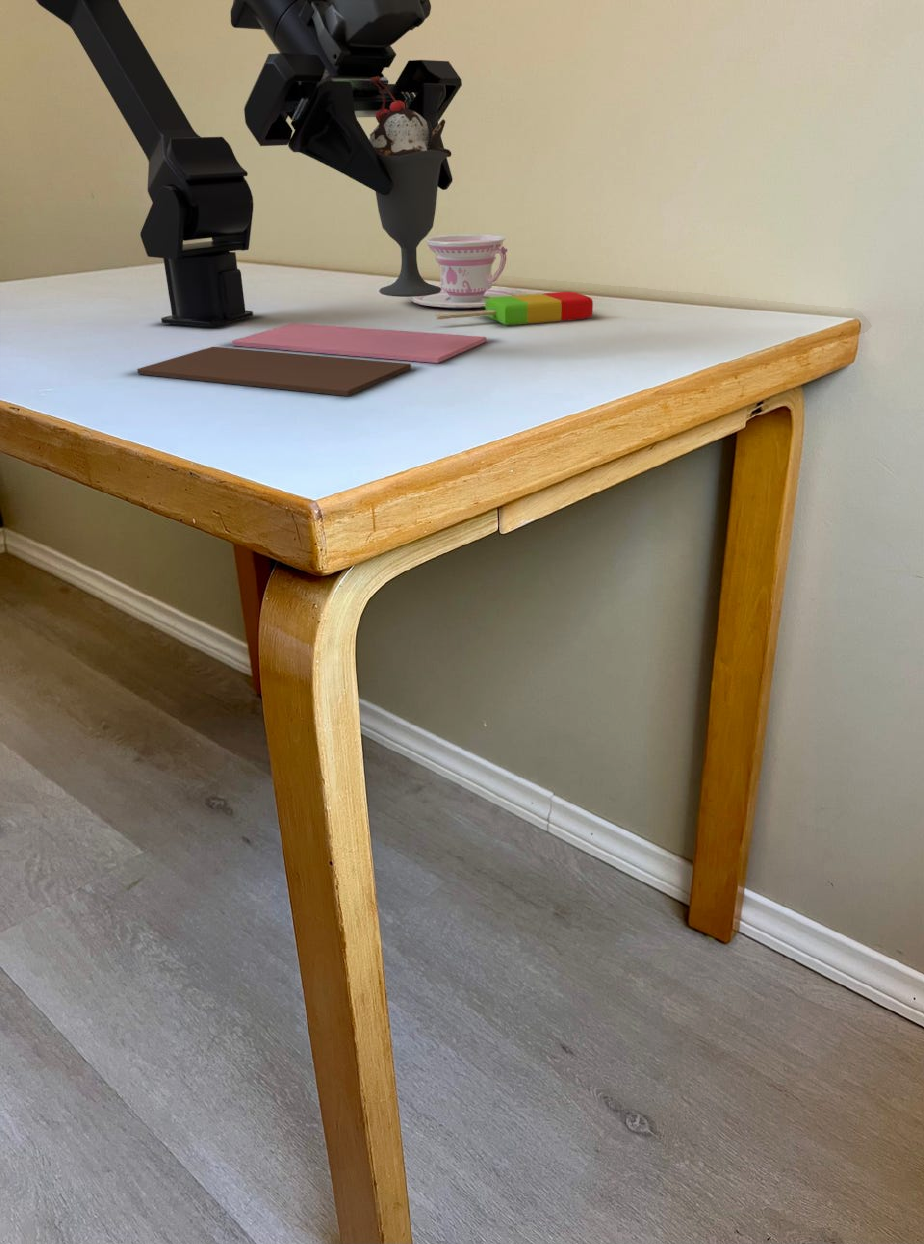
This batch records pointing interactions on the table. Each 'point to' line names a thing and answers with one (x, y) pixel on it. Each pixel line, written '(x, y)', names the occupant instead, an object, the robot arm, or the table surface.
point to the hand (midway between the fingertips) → (419, 188)
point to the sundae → (408, 187)
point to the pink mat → (362, 342)
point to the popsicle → (533, 308)
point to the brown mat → (277, 370)
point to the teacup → (466, 270)
